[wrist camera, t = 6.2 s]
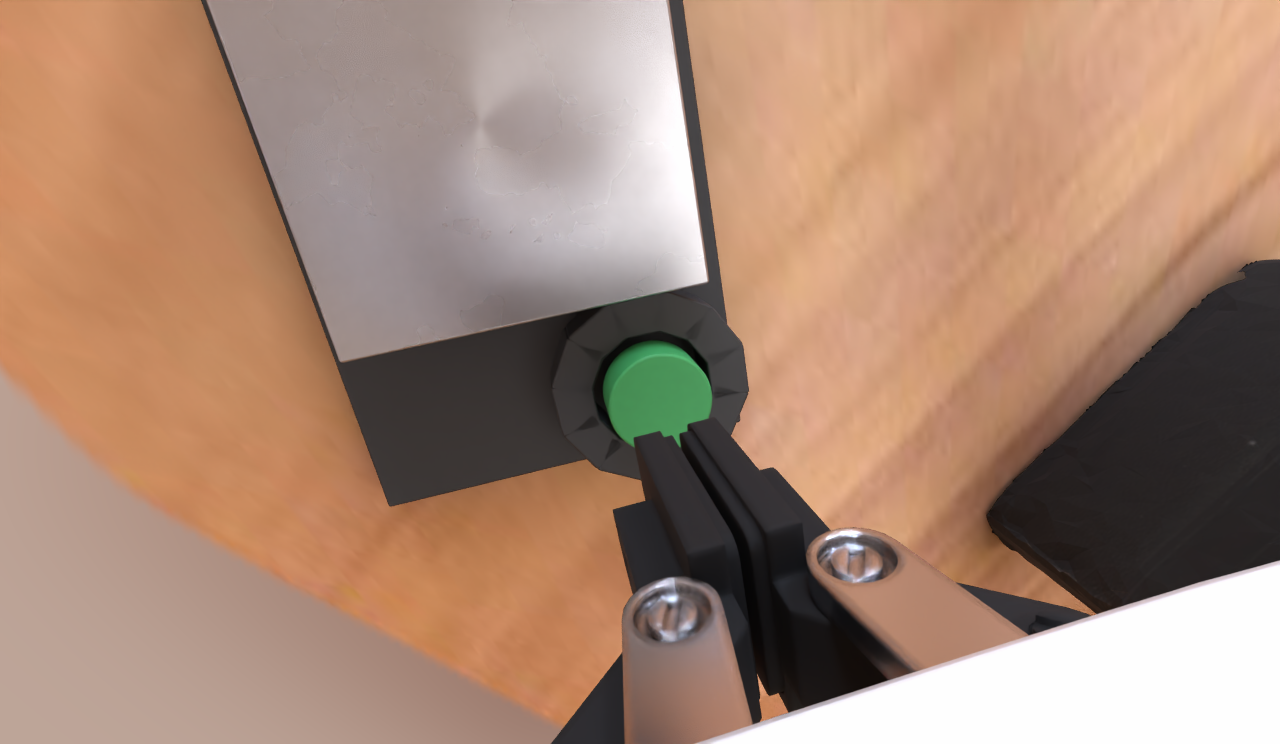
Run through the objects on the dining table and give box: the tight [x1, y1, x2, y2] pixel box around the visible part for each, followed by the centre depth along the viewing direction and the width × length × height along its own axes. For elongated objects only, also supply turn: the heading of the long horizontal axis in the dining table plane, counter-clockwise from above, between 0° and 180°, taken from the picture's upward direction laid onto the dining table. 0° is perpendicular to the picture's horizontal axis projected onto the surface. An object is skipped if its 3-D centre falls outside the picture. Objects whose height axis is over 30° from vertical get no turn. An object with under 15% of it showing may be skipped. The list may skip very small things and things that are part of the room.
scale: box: [201, 0, 749, 506], centre depth 17 cm, size 12×16×3 cm
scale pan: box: [206, 0, 709, 362], centre depth 15 cm, size 10×10×1 cm
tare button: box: [603, 340, 712, 447], centre depth 17 cm, size 3×3×2 cm
